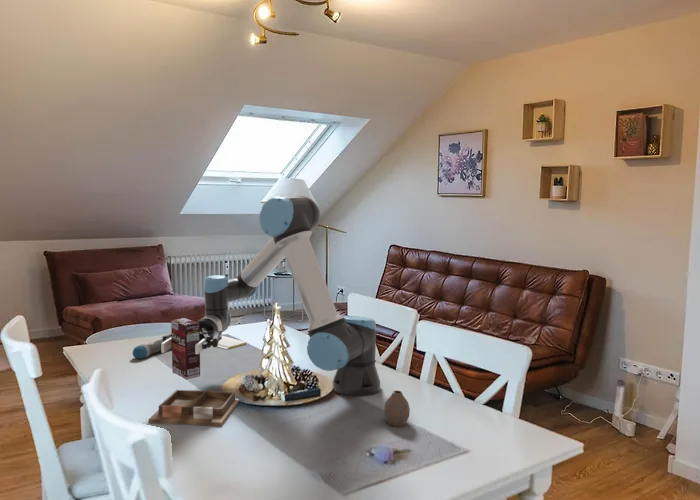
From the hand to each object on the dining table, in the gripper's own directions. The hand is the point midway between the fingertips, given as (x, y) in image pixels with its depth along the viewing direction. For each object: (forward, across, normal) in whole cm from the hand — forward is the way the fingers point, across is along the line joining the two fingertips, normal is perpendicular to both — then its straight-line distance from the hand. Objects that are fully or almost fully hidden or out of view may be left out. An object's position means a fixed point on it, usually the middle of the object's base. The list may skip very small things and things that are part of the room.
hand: (179, 348), depth 162 cm
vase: (+1, -61, -18) cm, 64 cm away
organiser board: (0, -5, -18) cm, 18 cm away
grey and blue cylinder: (-54, +31, -18) cm, 65 cm away
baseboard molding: (-74, +17, -19) cm, 78 cm away
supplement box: (-5, 0, -9) cm, 10 cm away
